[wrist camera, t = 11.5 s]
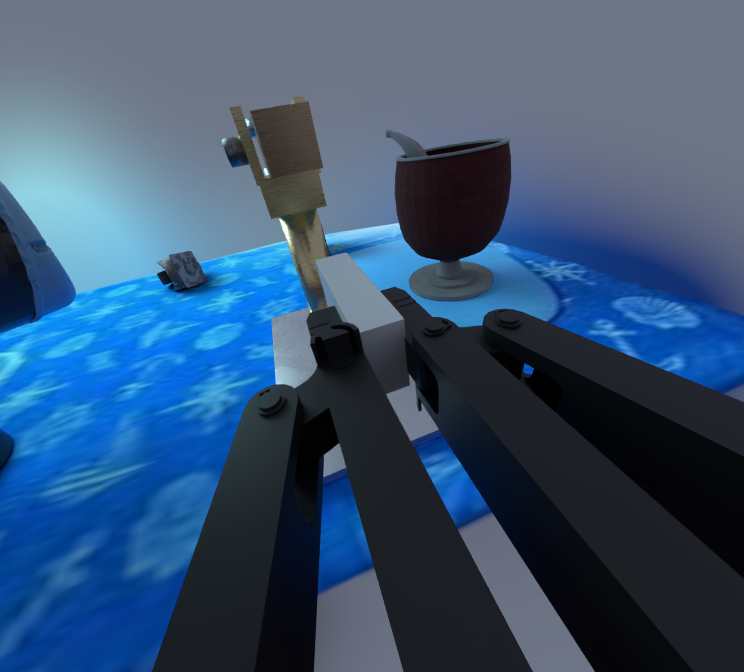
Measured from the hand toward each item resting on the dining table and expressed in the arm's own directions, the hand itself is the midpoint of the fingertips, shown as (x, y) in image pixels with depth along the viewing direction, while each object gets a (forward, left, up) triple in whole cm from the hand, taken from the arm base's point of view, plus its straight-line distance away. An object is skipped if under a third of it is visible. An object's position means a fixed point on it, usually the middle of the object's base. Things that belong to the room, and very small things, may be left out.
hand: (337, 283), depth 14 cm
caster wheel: (+26, +55, -14) cm, 62 cm away
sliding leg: (+8, +8, -13) cm, 17 cm away
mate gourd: (+30, 0, -14) cm, 33 cm away
